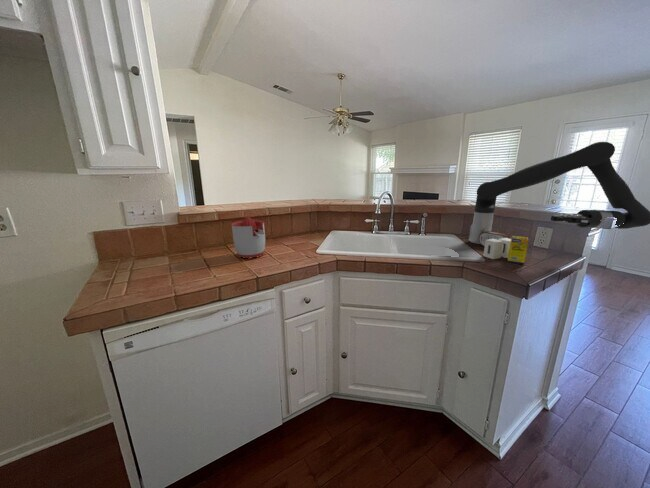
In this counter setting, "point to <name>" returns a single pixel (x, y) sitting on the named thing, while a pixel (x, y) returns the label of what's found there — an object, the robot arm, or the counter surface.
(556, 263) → the counter surface
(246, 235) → the citrus juicer
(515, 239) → the supplement box
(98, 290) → the counter surface
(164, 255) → the counter surface
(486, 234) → the tin
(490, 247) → the numeral one block
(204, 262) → the counter surface
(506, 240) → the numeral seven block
